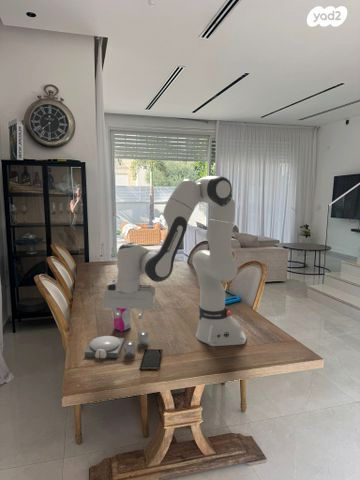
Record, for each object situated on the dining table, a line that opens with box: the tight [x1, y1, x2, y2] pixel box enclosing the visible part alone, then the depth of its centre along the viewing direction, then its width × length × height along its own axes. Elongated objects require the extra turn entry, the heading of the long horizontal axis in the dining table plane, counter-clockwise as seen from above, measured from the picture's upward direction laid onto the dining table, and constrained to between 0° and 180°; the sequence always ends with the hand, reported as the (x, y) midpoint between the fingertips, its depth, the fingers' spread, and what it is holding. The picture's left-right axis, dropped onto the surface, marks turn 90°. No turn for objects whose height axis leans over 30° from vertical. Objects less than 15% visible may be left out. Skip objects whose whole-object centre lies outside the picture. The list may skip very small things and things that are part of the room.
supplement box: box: [113, 308, 132, 333], centre depth 154 cm, size 6×6×12 cm
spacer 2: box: [137, 330, 149, 348], centre depth 140 cm, size 4×4×5 cm
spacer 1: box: [123, 340, 136, 359], centre depth 131 cm, size 4×4×5 cm
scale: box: [84, 335, 125, 359], centre depth 135 cm, size 13×14×4 cm
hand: (128, 318), depth 129 cm, fingers open, 8 cm apart
